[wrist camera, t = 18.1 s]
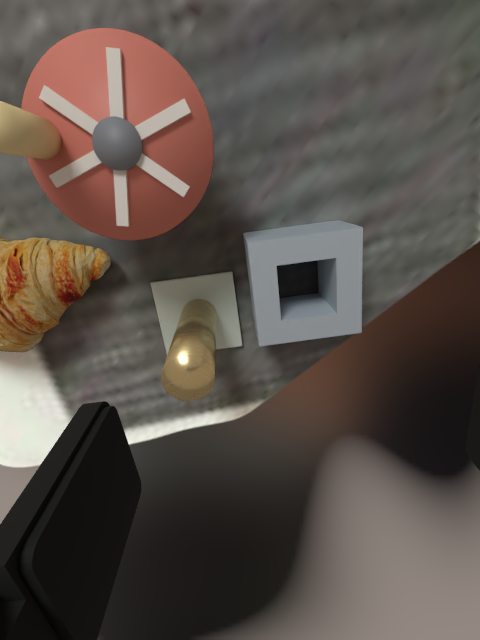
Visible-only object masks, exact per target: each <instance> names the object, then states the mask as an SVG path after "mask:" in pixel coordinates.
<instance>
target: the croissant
mask: <svg viewBox="0 0 480 640" xmlns="http://www.w3.org/2000/svg"><path fill="white" fill-rule="evenodd" d="M110 264H111V261H110V255H109V254H108V253H107V252H105V251H103V250H101V249H99V248H97V249H95V248H94V247H91V246H86V245H79V244H74V243H71V242H68V241H58V240H51V239H49V238H28V239H26V240H13V241H11V242H9V241H7V240H6V239H3V238H1V239H0V350H1V351H8V352H26V351H29V350H31V349H33V347H34V346H35V345H36V344H38V343H39V342H40V341H41V339H42V337H43V335H44V333H45V332H46V331H48V330H50V329H51V328H53V327H55V326H56V325H58V324H59V323H60V322H59V319H60V317H61V316H62V314H63V313H64V311H65V310H66V309H67V308H68V307H69V306H70V305H71V304H72V303H74V302H75V301H77V300H78V299H80V298H82V296H83V295H84V293H85V292H86V290H87V289H88V288H89V287H90V284H91V281H92V280H97V279H99V278H100V277H101V276H103V274H104V272H105V271H106V270H107V269H108V268H109V266H110Z"/></svg>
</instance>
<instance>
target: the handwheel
mask: <svg viewBox="0 0 480 640" xmlns="http://www.w3.org/2000/svg"><path fill="white" fill-rule="evenodd" d="M0 153H5V154H11V155H18V156H24V157H27V159H28V162H29V165H30V167H31V169H32V171H33V174H34V176H35V178H36V179H37V181H38V183H39V185H40V186H41V188H42V189H43V191H44V192H45V193H46V195H47V196H48V198H49V199H50V200H51V201H52V202H53V203H54V204H55V206H56V207H57V208H58V209H59V210H60V211H61V212H63V213H64V214H65V215H66V216H67V217H68V218H70V219H71V220H72V221H74V222H75V223H77V224H78V225H80V226H82V227H83V228H85V229H87V230H89V231H91V232H94V233H96V234H99V235H101V236H105V237H109V238H112V239H119V240H141V239H148V238H151V237H155V236H158V235H160V234H163V233H165V232H167V231H169V230H171V229H172V228H174V227H176V226H177V225H178V224H179V223H181V222H182V221H183V220H184V219H186V218H187V217H188V216H189V215H190V214H191V213H192V211H193V210H194V209H195V208H196V206H197V205H198V204H199V202H200V201H201V199H202V197H203V195H204V193H205V191H206V189H207V186H208V183H209V181H210V177H211V173H212V168H213V159H214V141H213V134H212V127H211V123H210V119H209V115H208V112H207V109H206V106H205V104H204V101H203V98H202V96H201V95H200V93H199V91H198V89H197V87H196V85H195V83H194V82H193V80H192V79H191V78H190V76H189V75H188V73H187V72H186V71H185V69H184V68H183V67H182V66H181V65H180V64H179V63H178V61H177V60H175V59H174V58H173V57H172V56H171V55H170V54H169V53H168V52H167V51H165V50H164V49H162V48H161V47H160V46H158V45H157V44H155V43H154V42H152V41H150V40H148V39H146V38H144V37H142V36H140V35H137V34H134V33H131V32H128V31H124V30H119V29H113V28H97V29H89V30H84V31H81V32H78V33H75V34H72V35H70V36H68V37H66V38H64V39H62V40H61V41H59V42H58V43H57V44H55V45H54V46H53V47H51V48H50V49H49V50H48V51H47V52H46V53H45V54H44V56H43V57H42V58H41V59H40V60H39V62H38V63H37V65H36V66H35V68H34V69H33V71H32V74H31V76H30V78H29V80H28V82H27V85H26V89H25V92H24V95H23V101H22V107H21V109H20V108H17V107H15V106H12V105H9V104H7V103H4V102H2V101H0Z"/></svg>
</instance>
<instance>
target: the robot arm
mask: <svg viewBox="0 0 480 640" xmlns="http://www.w3.org/2000/svg"><path fill="white" fill-rule="evenodd" d="M466 450H467V453H468V456H469V458H470V459H471V461H472V462H473V463H474V464H475V465H476V467H477V468H478V469H479V470H480V367H479V372H478V377H477V384H476V389H475V396H474V401H473V407H472V412H471V418H470V424H469V430H468V436H467V442H466ZM140 494H141V480H140V477H139V474H138V471H137V468H136V465H135V462H134V459H133V456H132V453H131V450H130V447H129V444H128V442H127V439H126V436H125V433H124V430H123V427H122V424H121V421H120V418H119V415H118V412H117V410H116V408H115V407H114V406H110V405H109V404H108V403H107V402H105V401H104V402H96V403H87V404H83V405H82V406H81V407H80V408H79V409H78V411H77V412H76V414H75V415H74V417H73V418H72V420H71V421H70V423H69V424H68V426H67V427H66V429H65V430H64V431H63V433H62V434H61V436H60V437H59V439H58V440H57V442H56V443H55V445H54V446H53V448H52V449H51V451H50V452H49V454H48V455H47V457H46V458H45V459H44V461H43V462H42V464H41V465H40V467H39V468H38V470H37V471H36V473H35V474H34V476H33V477H32V479H31V480H30V482H29V483H28V485H27V486H26V488H25V489H24V491H23V492H22V493H21V495H20V496H19V498H18V499H17V501H16V502H15V504H14V505H13V507H12V508H11V510H10V511H9V513H8V514H7V515H6V517H5V518H4V520H3V521H2V523H1V524H0V640H97V638H98V635H99V631H100V628H101V625H102V621H103V618H104V615H105V611H106V608H107V604H108V601H109V598H110V595H111V591H112V588H113V585H114V581H115V578H116V575H117V571H118V568H119V565H120V561H121V558H122V555H123V551H124V548H125V545H126V541H127V538H128V535H129V531H130V528H131V525H132V521H133V518H134V515H135V511H136V508H137V505H138V501H139V498H140Z"/></svg>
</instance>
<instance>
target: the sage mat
mask: <svg viewBox="0 0 480 640" xmlns="http://www.w3.org/2000/svg"><path fill="white" fill-rule="evenodd" d="M150 284H151V288H152V292H153V296H154V301H155V305H156V309H157V314H158V318H159V322H160V326H161V331H162V335H163V339H164V344H165V348H166V352H167V355H168V352H169V349H170V346H171V343H172V340H173V337H174V333H175V330H176V327H177V324H178V321H179V318H180V315H181V312H182V309H183V307H184V306H185V304H186V303H188V302H189V301H191V300H194V299H204V300H206V301H208V302H210V303H211V304H212V305H213V306H214V307H215V309H216V312H217V329H216V349H223V348H231V347H238V346H242V339H241V332H240V325H239V317H238V310H237V303H236V295H235V288H234V281H233V274H232V271H231V272H223V273H216V274H209V275H201V276H194V277H186V278H179V279H172V280H164V281H157V282H151V283H150Z"/></svg>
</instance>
